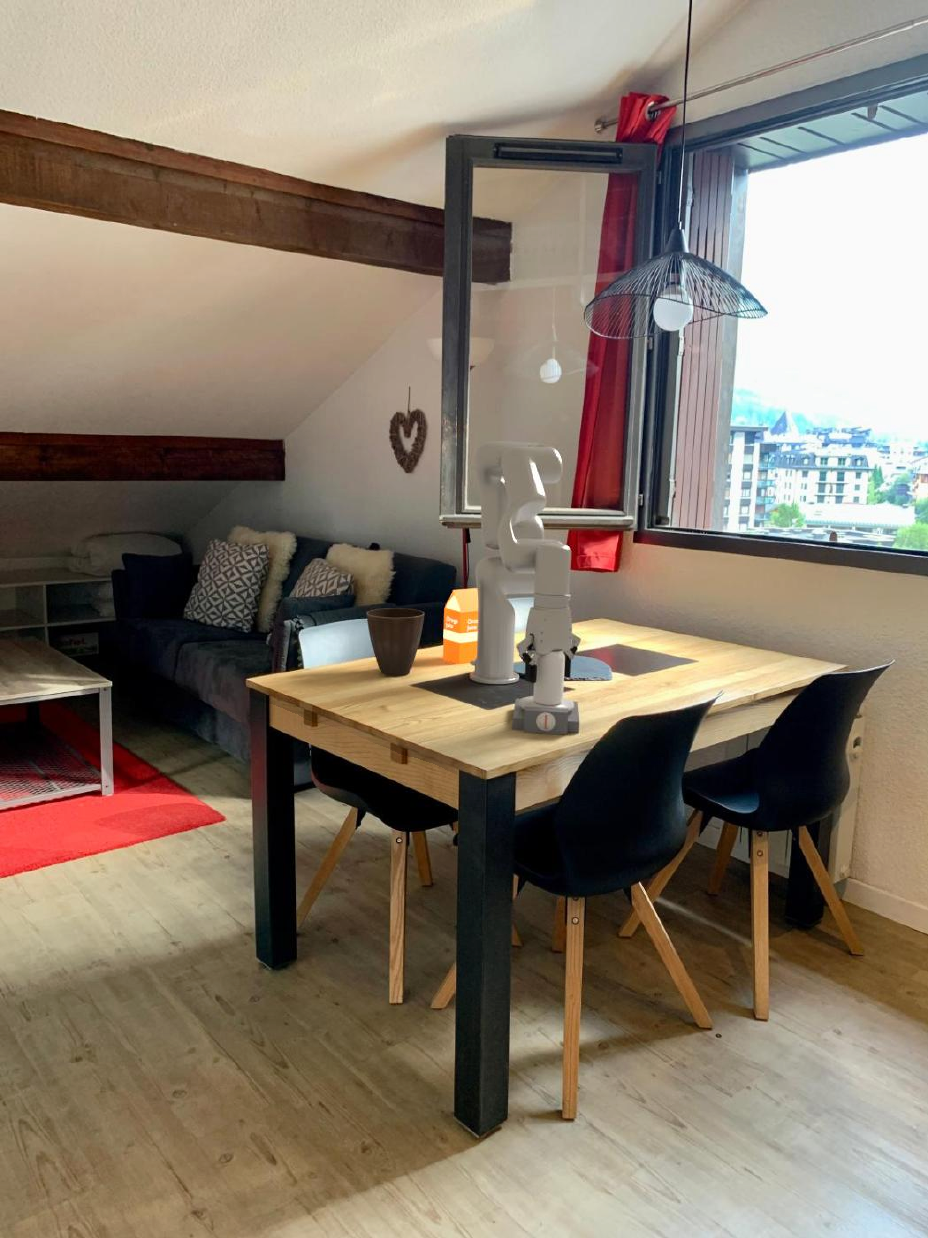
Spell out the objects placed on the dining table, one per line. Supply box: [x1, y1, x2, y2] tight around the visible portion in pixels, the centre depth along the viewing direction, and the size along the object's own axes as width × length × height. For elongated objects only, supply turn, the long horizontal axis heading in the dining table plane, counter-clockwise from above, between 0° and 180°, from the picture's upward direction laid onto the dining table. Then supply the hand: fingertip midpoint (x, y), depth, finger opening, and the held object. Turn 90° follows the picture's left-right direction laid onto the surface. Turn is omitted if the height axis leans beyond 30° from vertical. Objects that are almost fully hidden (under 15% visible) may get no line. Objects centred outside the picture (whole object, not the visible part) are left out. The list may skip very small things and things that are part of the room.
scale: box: [511, 695, 580, 735], centre depth 206 cm, size 18×14×5 cm
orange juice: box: [442, 587, 478, 665], centre depth 263 cm, size 8×9×20 cm
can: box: [532, 650, 565, 706], centre depth 207 cm, size 6×6×12 cm
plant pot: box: [365, 607, 425, 677], centre depth 246 cm, size 15×15×16 cm
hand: (547, 679), depth 206 cm, fingers open, 9 cm apart
